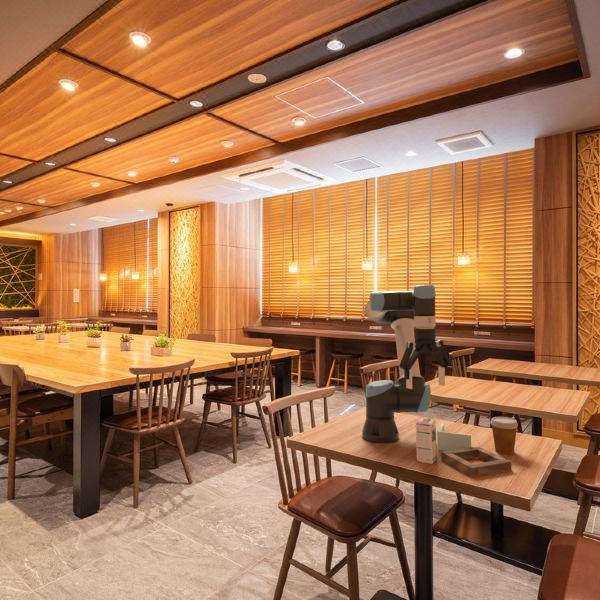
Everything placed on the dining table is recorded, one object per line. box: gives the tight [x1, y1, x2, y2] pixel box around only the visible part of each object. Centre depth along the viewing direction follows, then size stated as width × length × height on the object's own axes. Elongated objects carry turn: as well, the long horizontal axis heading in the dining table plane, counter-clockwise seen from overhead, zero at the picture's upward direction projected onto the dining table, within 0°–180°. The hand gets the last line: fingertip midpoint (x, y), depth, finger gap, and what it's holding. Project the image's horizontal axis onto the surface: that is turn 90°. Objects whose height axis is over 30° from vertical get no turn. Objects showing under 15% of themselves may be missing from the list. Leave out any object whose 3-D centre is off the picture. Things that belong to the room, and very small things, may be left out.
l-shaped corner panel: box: [436, 422, 472, 452], centre depth 171 cm, size 12×12×8 cm
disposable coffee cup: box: [489, 416, 519, 456], centre depth 165 cm, size 10×10×12 cm
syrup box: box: [415, 417, 438, 465], centre depth 158 cm, size 6×6×14 cm
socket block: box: [441, 445, 513, 478], centre depth 152 cm, size 16×16×3 cm
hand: (425, 386), depth 158 cm, fingers open, 13 cm apart
